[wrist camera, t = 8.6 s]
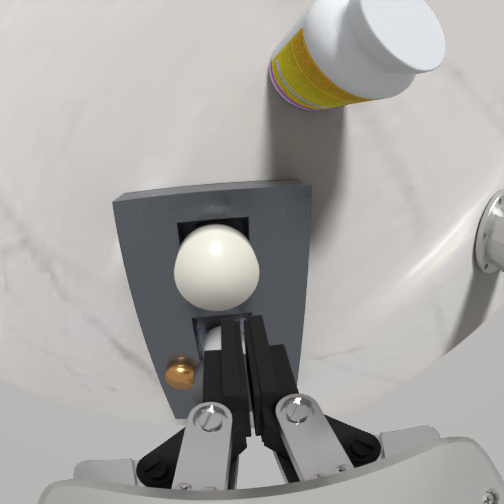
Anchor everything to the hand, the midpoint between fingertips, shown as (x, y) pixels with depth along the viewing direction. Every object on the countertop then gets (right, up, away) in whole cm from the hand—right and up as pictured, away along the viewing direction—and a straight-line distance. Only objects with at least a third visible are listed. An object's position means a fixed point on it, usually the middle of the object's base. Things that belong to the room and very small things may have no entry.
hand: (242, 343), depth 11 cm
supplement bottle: (+5, +18, +7) cm, 20 cm away
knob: (-3, +5, +11) cm, 12 cm away
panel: (-2, -2, +15) cm, 15 cm away
